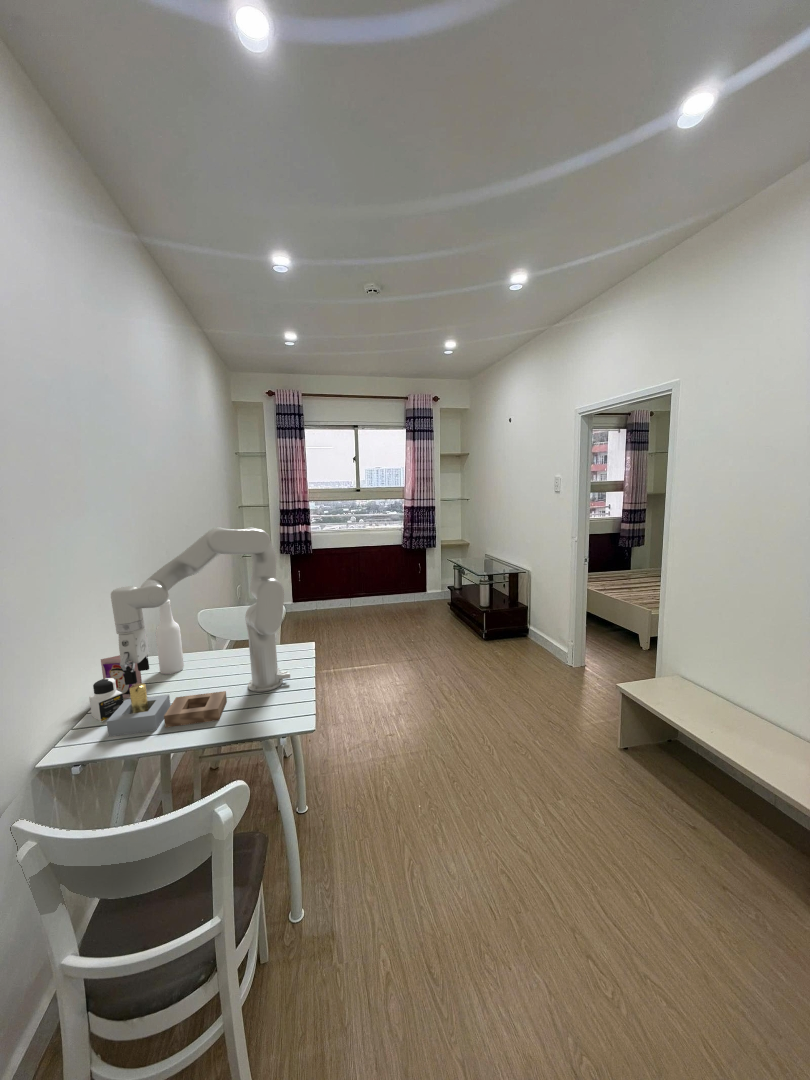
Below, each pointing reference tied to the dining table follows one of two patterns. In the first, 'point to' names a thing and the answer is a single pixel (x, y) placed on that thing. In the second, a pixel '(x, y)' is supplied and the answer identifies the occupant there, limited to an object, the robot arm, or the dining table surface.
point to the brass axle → (139, 698)
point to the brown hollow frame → (195, 709)
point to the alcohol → (169, 642)
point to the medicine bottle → (105, 699)
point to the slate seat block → (138, 717)
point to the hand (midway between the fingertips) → (137, 676)
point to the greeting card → (118, 674)
